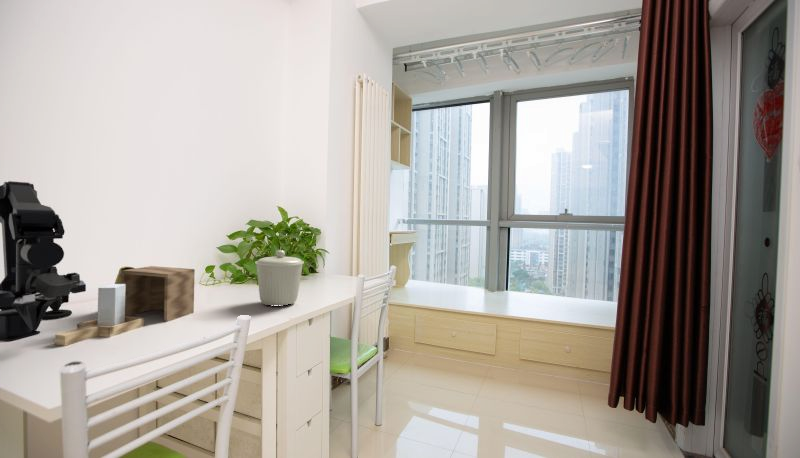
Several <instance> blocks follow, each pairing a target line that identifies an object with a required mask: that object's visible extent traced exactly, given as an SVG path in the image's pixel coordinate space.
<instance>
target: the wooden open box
mask: <svg viewBox="0 0 800 458" xmlns="http://www.w3.org/2000/svg"><path fill="white" fill-rule="evenodd" d="M134 268H135V267H134ZM195 271H196V270H195V269H194V268H181V267H170V266H169V267H168V266H156V265H154V266H152V265H151V266H150V265H149V266H145V267H138V268H137V267H136V268H135V269H129V270H122V271H121V284H125V285H126V289H125V316H129V317H131V316H133V315H136V314H140V313H143V312H144V313H145V312H147V311H150V310H154V311H163V313H164V314H163V317H164V318H163V321H164V322H165V323H167V322H171V321H173V320H176V319H178V318H179V319H180V318H182V317H186V316H188V315H191V314H194V313H195V308H194V307H195V275H196V273H195ZM193 312H194V313H193ZM190 313H191V314H190Z"/></svg>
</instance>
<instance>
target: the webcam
mask: <svg viewBox="0 0 800 458" xmlns="http://www.w3.org/2000/svg"><path fill="white" fill-rule="evenodd" d="M57 297H61V298H60V299H59V300H56V301H55V302H53V303H52V304H51V305H50V306H49V307H48V308H50V309H51V310H46V312H45V314H44V316H43V318H42V320H47V321H48V319H49V320H57V319H63V318H66V317H67V318H68V317H69V316H71V315H72V314H73V312H72V310H70V309H64V308H63V309H62V308H61V307H62V305H63V304H66V303H69V299H70V294H69V295H66V296H65V295H62V296H57ZM60 308H61V309H60Z"/></svg>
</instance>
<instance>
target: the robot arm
mask: <svg viewBox="0 0 800 458" xmlns="http://www.w3.org/2000/svg"><path fill="white" fill-rule="evenodd" d="M34 185H35V184H34V183H31V182H27V181H26V182H25V181H21V182H20V181H11V180H9V181H4V183H3V184H2V185H0V224H1V233H2V234H1V235H2V250H3V269H4V270H3V271H4V278H3V279H2V280H1V282H0V341H14V340H18V339H19V340H20V339H23V338H26V337H30V336H33V335H37V334H40V333H41V331H40V330H38V328H39V327H40V324H41V323H42V321H43V319H42V318H43V316H44V314H45V312H47V311H48V309H49V308H50V307H49V306H50V305H51V304H52V303H53V302H55V301H56V300H59V299H60V298H61V297H57V296H62V295H65V296H66V295H69V296H70V294H79V293H85V292H86V291H87V285H86V282H84V280H82V279H81V278H80V274H79V273H78V272H71V273H69V272H68V273H66V274H59V273H58V268H57V266H56V265H58V264H60V263H61V262H62V261H63V259H64V256H65V251H64V249H63V247H62V246H61V245H60V244H58V243H56V242H55V241H54V240H55V239H58V240H59V239H64V238H63V237H64V235H65V229H64V225H63V222H62V219H61V218H60V215H59V214H56V211H55V210H54V208H52V207H51V206H48V205H43V204H41V202H40V199H39V198H38V191H37V190H35V186H34Z"/></svg>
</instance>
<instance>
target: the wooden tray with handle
mask: <svg viewBox="0 0 800 458" xmlns="http://www.w3.org/2000/svg"><path fill="white" fill-rule="evenodd" d="M142 326H143V327H144V326H145V317H140V316H139V317H138V316H137V317H136V316H125V323H122V324H118V325H115V326H101V325H98V318H95V319H92V320H88V321H84V322H80V323H76V329H72V330H68V331H64V332H60V333H57V334H55V335H54V345H56V346H62V347H63V346H64V347H65V346H68V345H69V346H70V345H72V344H75V343H79V342H82V341H85V340H88V339H93V338H95V337H98V336H99V337H106V338H112V337H115V336H119V335H121V334H123V333H124V334H125V333H127V332H131V331H133V330H136V329H140V328H142Z"/></svg>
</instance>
